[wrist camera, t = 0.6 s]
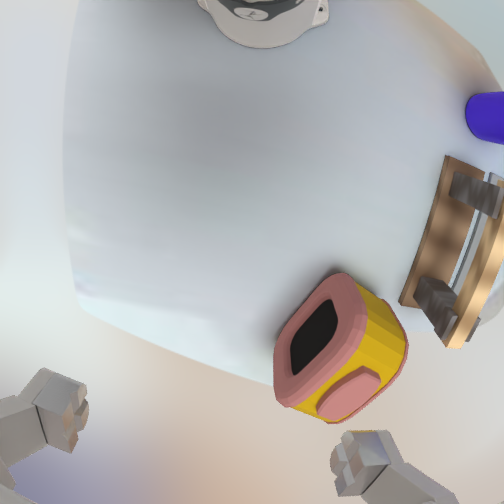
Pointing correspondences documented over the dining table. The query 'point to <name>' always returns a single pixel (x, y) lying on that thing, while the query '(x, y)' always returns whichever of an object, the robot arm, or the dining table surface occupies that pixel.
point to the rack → (448, 242)
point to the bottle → (487, 116)
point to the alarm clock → (338, 351)
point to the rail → (478, 278)
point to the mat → (473, 243)
